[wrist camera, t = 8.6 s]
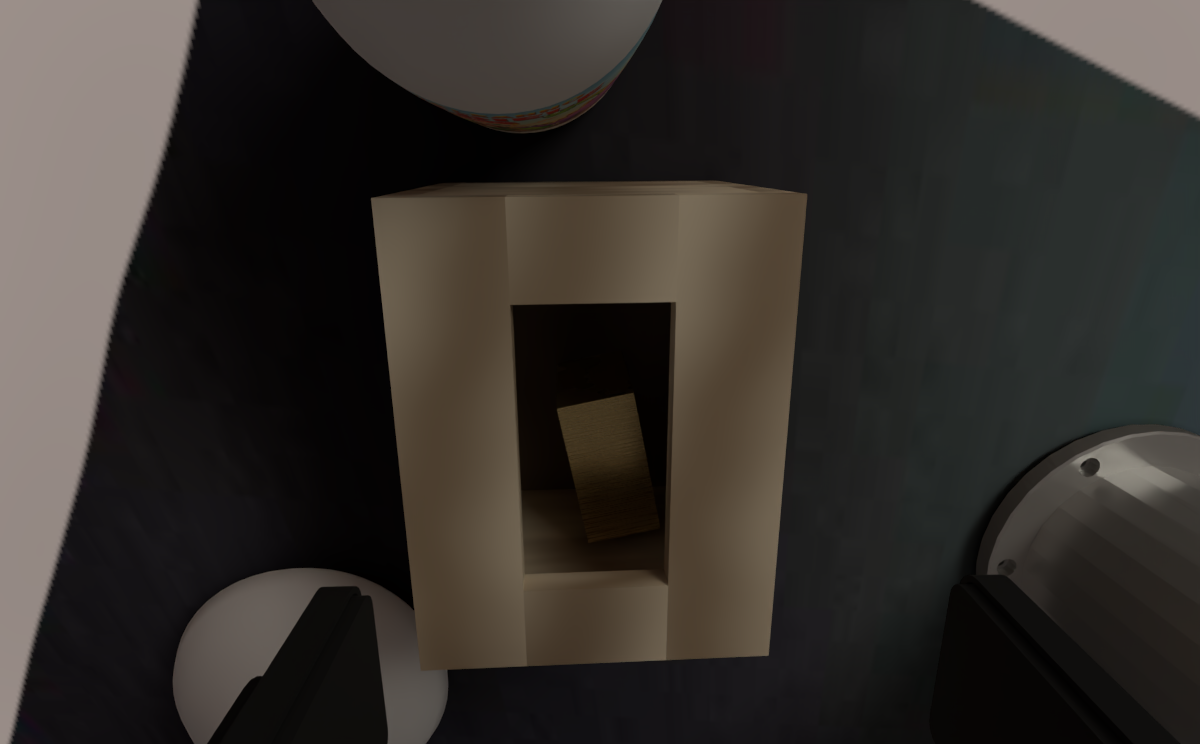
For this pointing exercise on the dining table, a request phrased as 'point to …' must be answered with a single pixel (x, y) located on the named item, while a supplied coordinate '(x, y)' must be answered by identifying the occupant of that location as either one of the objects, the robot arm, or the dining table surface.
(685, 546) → the box
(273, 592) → the flower in vase
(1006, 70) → the dining table surface
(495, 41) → the milk bottle
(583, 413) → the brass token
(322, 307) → the dining table surface
